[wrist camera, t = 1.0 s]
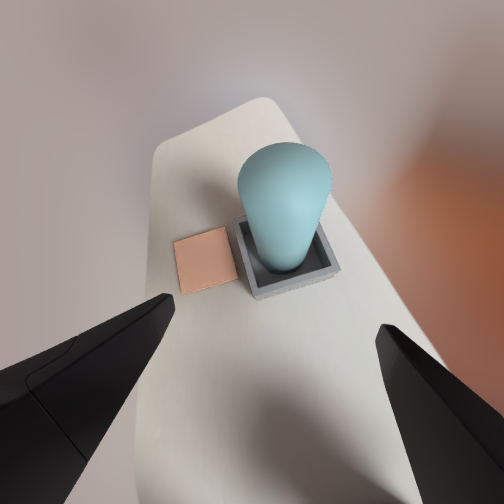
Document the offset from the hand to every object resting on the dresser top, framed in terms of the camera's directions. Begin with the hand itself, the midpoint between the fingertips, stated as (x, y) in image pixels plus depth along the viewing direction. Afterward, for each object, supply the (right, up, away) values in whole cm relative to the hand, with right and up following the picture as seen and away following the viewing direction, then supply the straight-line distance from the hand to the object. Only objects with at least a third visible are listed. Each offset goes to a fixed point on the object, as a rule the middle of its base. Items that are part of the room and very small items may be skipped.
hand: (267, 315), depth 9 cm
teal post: (+3, +3, +14) cm, 14 cm away
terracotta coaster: (-6, +2, +15) cm, 16 cm away
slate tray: (+3, +3, +14) cm, 15 cm away
